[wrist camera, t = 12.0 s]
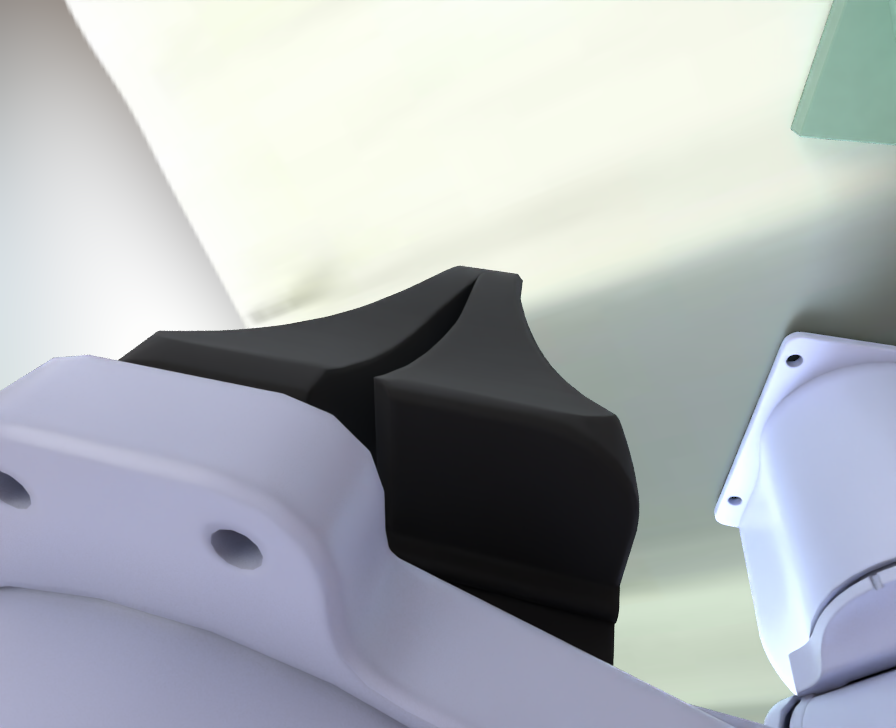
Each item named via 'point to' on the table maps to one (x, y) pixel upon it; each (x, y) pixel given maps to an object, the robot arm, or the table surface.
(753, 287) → the table surface
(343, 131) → the table surface
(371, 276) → the table surface
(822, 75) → the tap control
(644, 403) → the table surface
